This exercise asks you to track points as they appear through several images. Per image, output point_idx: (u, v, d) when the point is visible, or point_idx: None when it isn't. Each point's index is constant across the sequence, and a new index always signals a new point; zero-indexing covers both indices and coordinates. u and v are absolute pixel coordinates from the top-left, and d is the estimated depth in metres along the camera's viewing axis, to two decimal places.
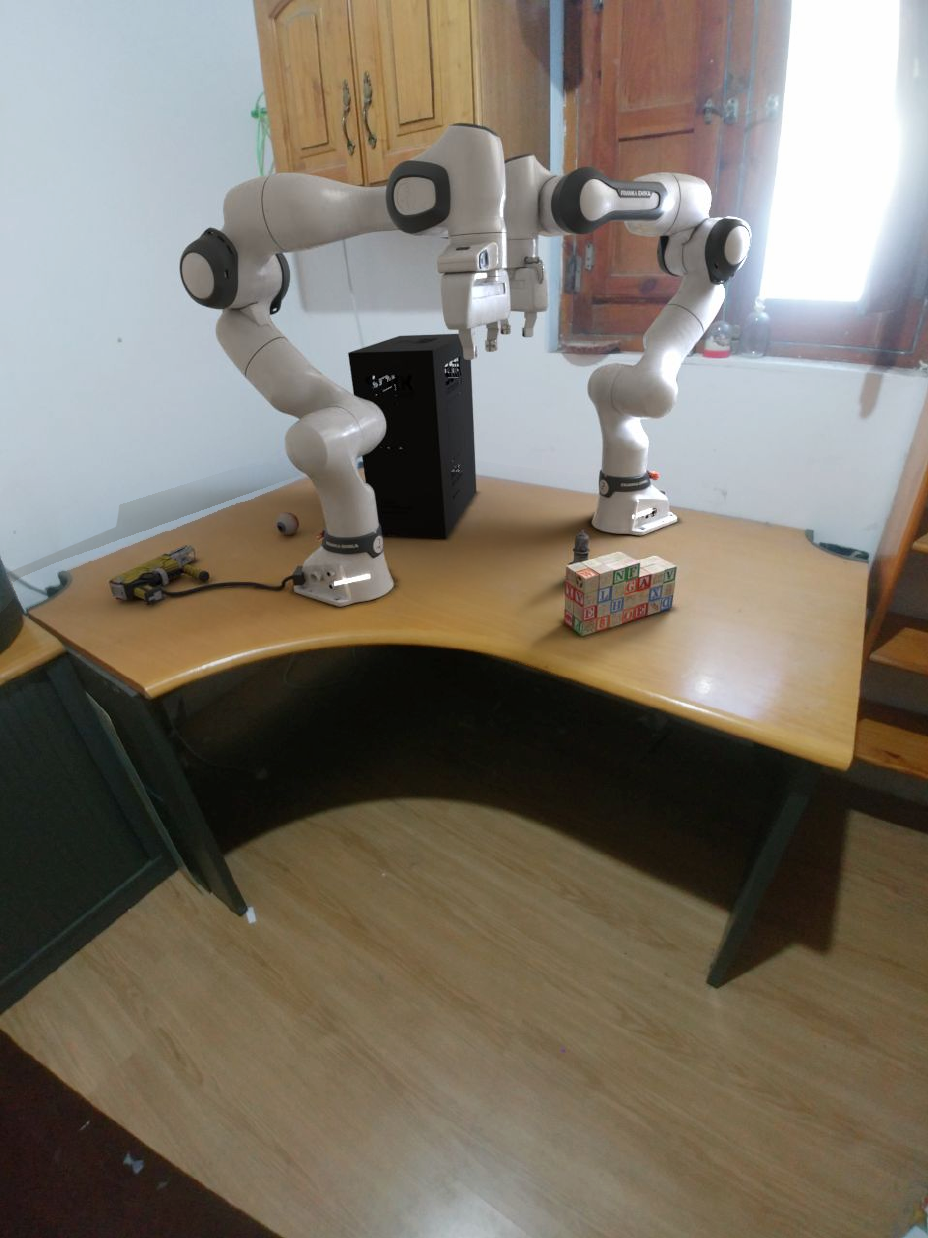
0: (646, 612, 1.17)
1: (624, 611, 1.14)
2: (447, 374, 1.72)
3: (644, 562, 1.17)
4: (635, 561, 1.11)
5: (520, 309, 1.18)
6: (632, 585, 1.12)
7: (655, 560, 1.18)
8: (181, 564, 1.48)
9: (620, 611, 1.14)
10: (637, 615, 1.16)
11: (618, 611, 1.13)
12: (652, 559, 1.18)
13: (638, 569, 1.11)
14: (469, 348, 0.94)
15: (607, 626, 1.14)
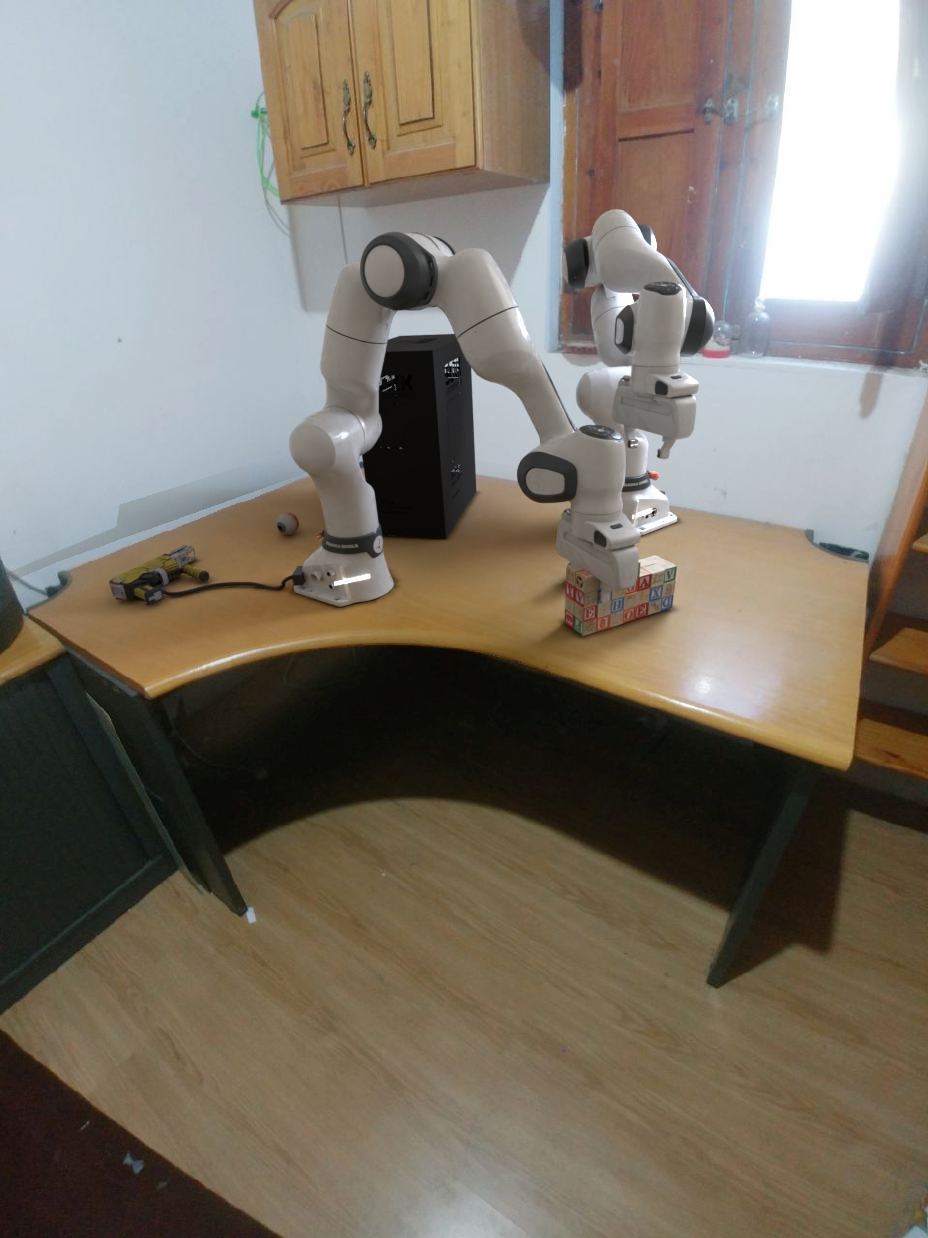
0: (647, 612, 1.17)
1: (624, 611, 1.14)
2: (447, 374, 1.72)
3: (644, 562, 1.17)
4: None
5: None
6: None
7: (655, 560, 1.18)
8: (181, 564, 1.48)
9: (621, 611, 1.14)
10: (638, 615, 1.16)
11: (618, 611, 1.13)
12: (653, 559, 1.18)
13: (638, 569, 1.11)
14: (607, 593, 1.08)
15: (608, 626, 1.14)
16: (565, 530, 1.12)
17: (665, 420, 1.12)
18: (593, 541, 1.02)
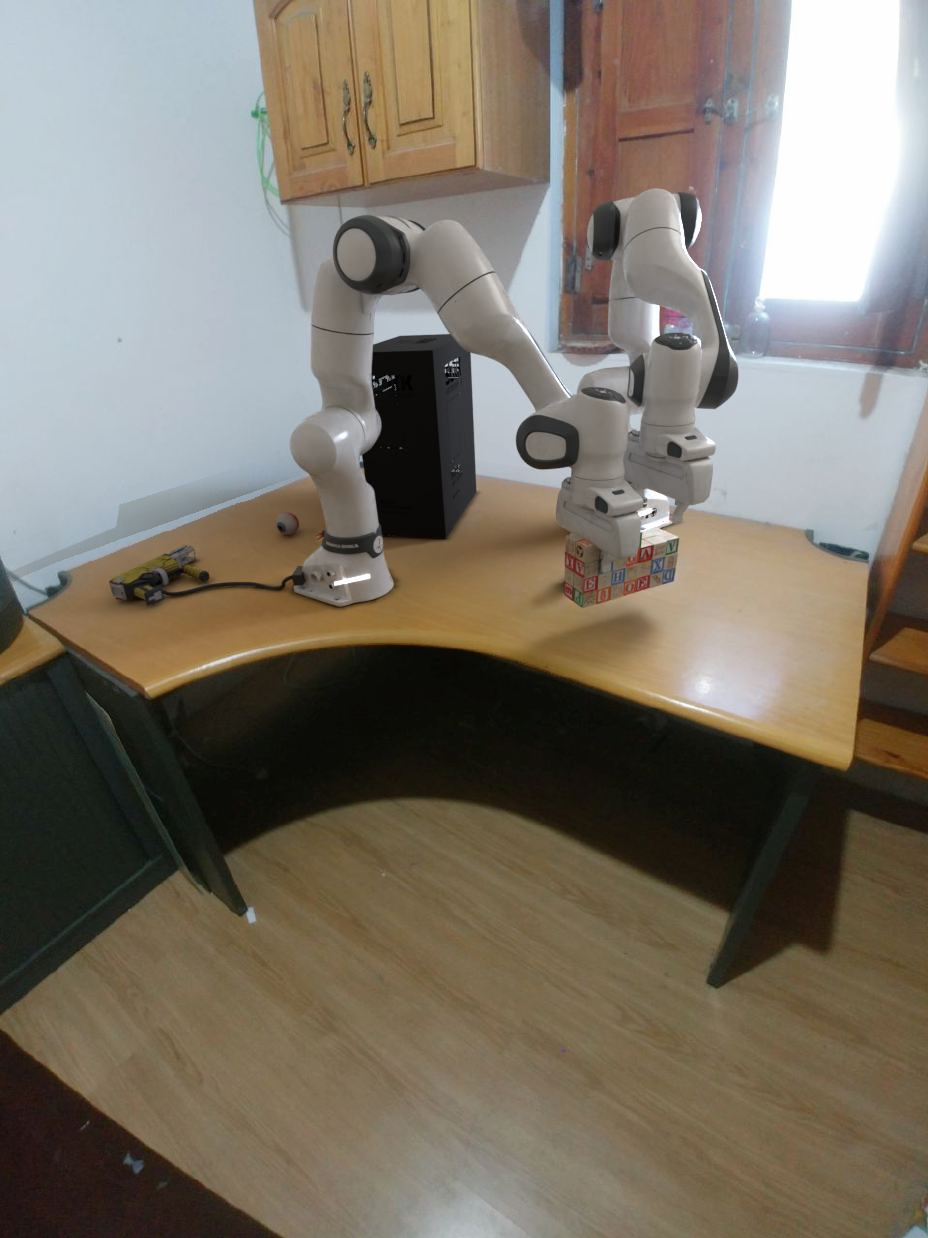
0: (648, 585, 1.14)
1: (625, 583, 1.11)
2: (447, 374, 1.72)
3: (646, 533, 1.14)
4: None
5: None
6: (634, 556, 1.10)
7: (657, 532, 1.15)
8: (181, 564, 1.48)
9: (621, 583, 1.11)
10: (639, 588, 1.14)
11: (619, 583, 1.11)
12: (654, 531, 1.15)
13: (640, 539, 1.08)
14: (608, 563, 1.05)
15: (608, 598, 1.11)
16: (565, 499, 1.09)
17: (678, 483, 1.01)
18: (594, 508, 0.99)
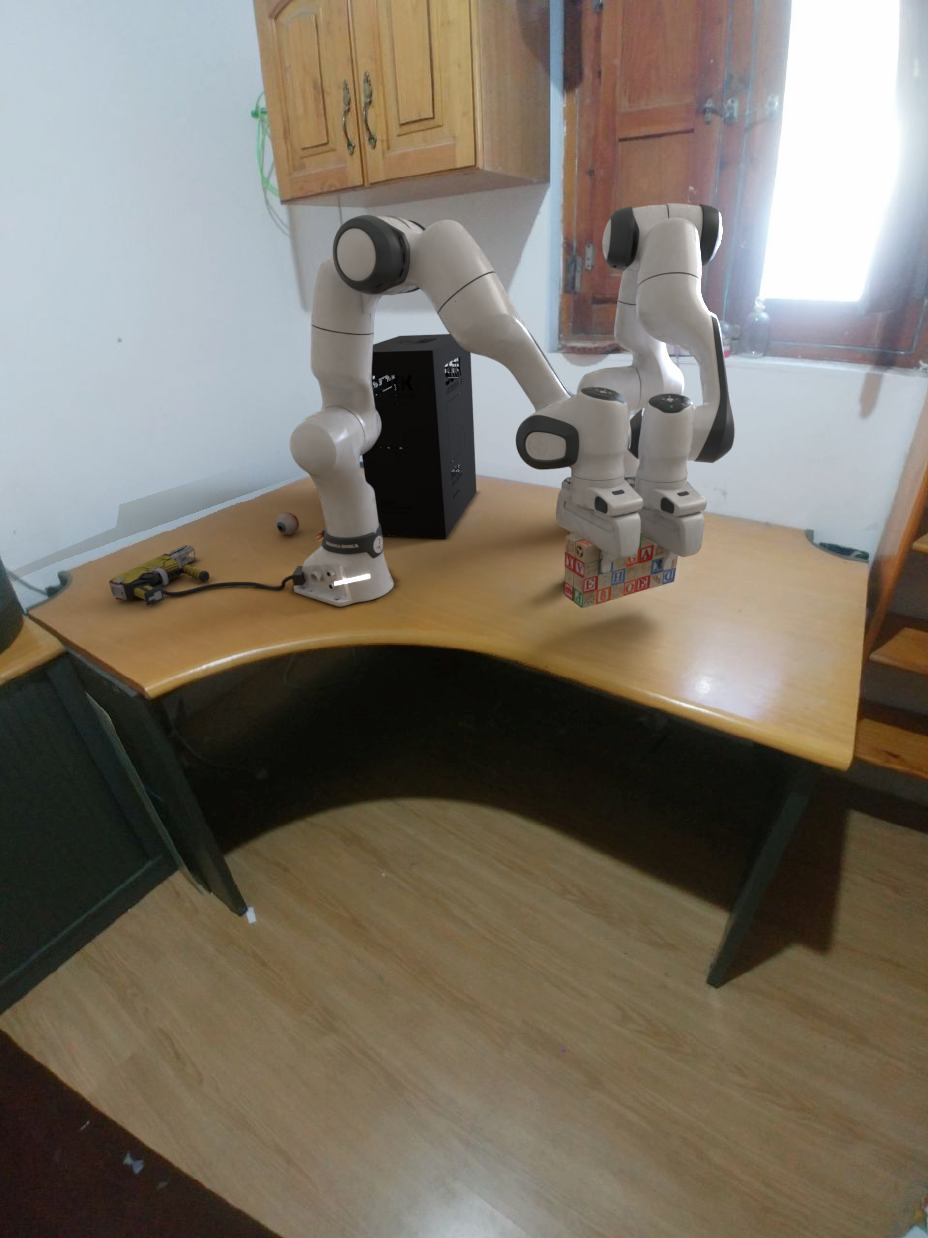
0: (648, 586, 1.14)
1: (625, 584, 1.11)
2: (447, 374, 1.72)
3: None
4: None
5: None
6: (634, 556, 1.09)
7: None
8: (181, 564, 1.48)
9: (621, 583, 1.11)
10: (639, 588, 1.13)
11: (619, 583, 1.11)
12: None
13: (640, 539, 1.08)
14: (608, 564, 1.05)
15: (608, 598, 1.11)
16: (565, 499, 1.09)
17: (671, 536, 1.06)
18: (594, 508, 0.99)
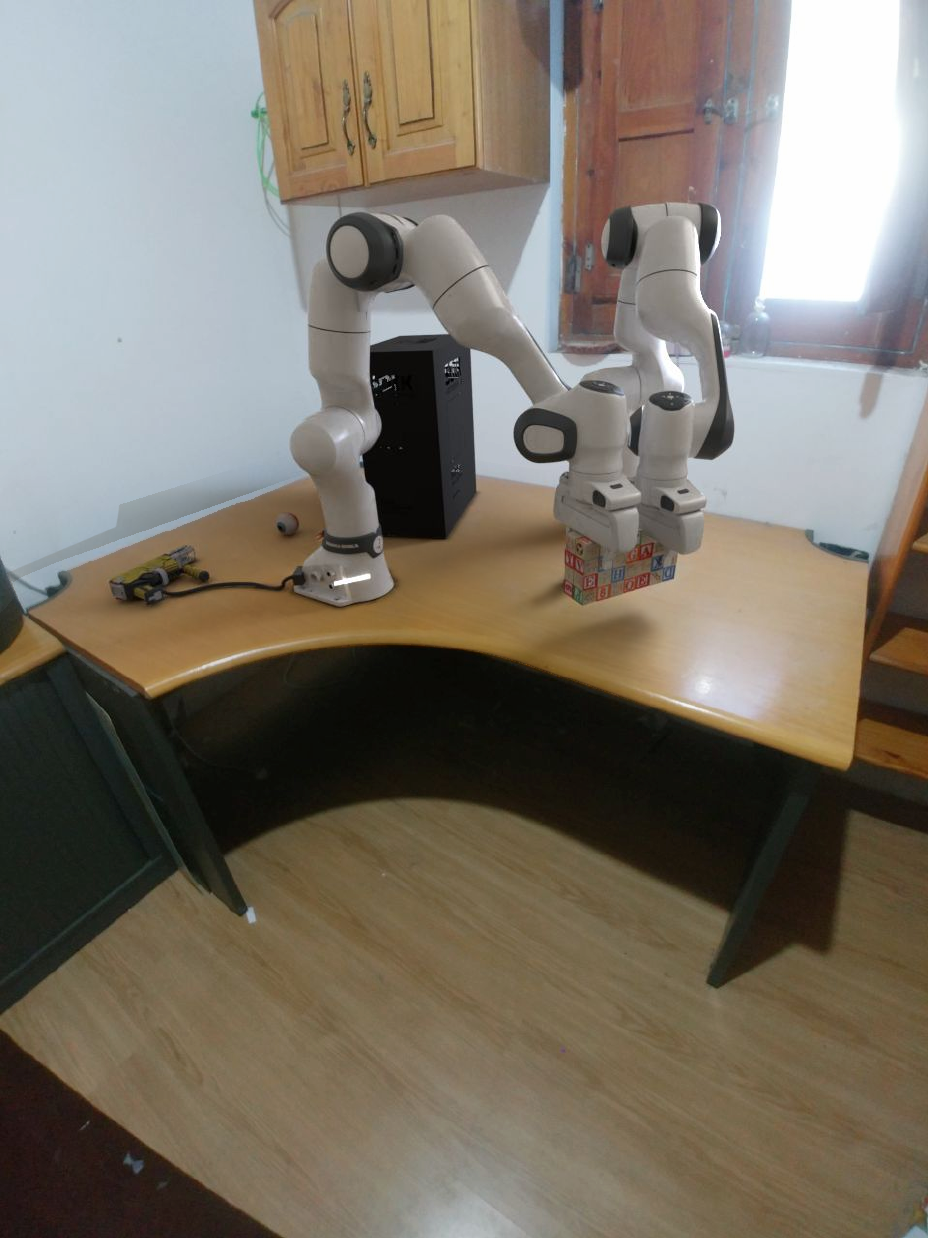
0: (648, 583, 1.14)
1: (625, 581, 1.11)
2: (447, 374, 1.72)
3: None
4: None
5: None
6: (634, 553, 1.09)
7: None
8: (181, 564, 1.48)
9: (621, 580, 1.11)
10: (639, 585, 1.14)
11: (619, 580, 1.11)
12: None
13: (640, 537, 1.08)
14: (609, 560, 1.04)
15: (608, 596, 1.11)
16: (563, 494, 1.08)
17: (671, 533, 1.06)
18: (592, 502, 0.98)
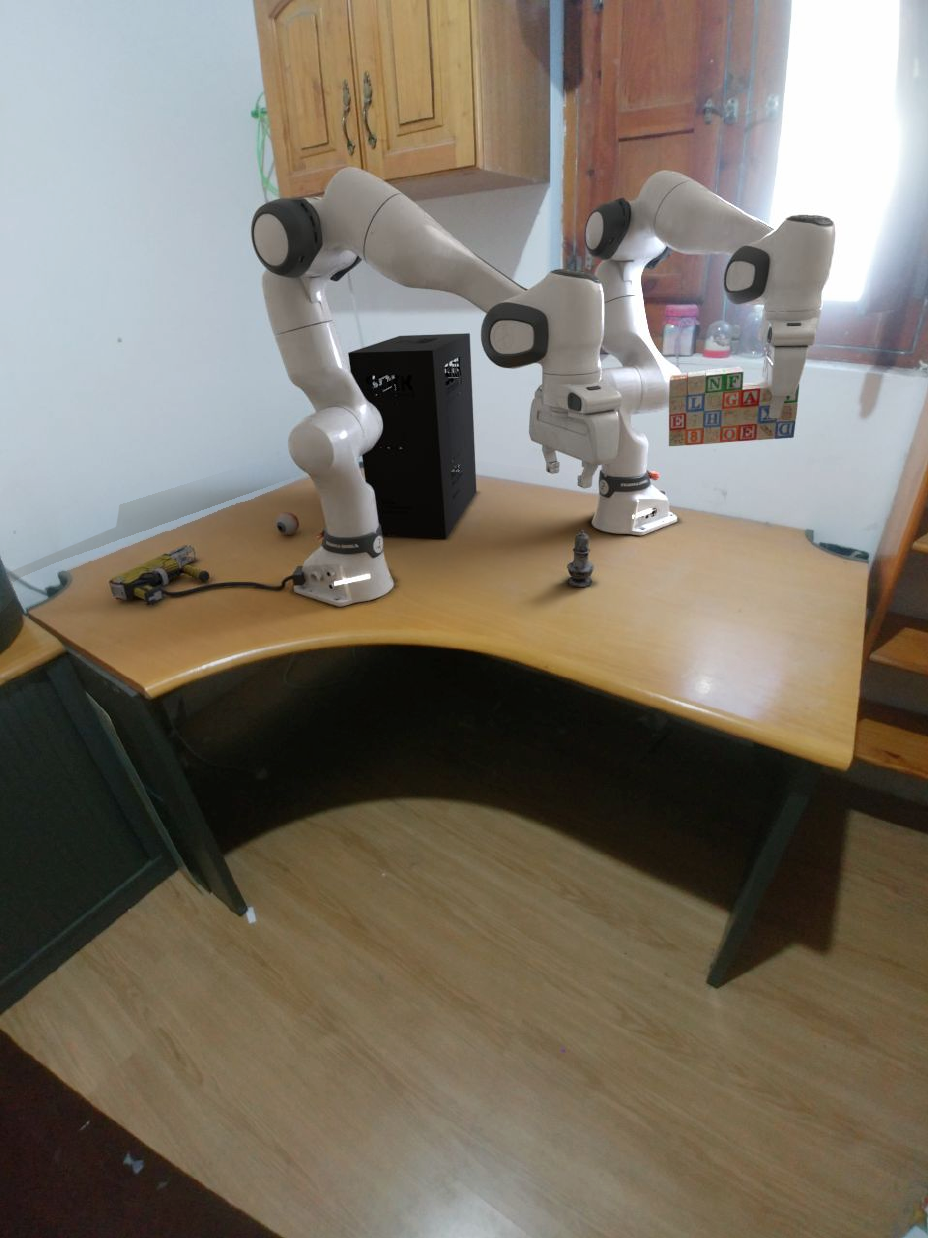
0: (755, 436, 1.09)
1: (723, 428, 1.10)
2: (447, 374, 1.72)
3: None
4: (740, 371, 1.06)
5: None
6: (733, 398, 1.08)
7: None
8: (181, 564, 1.48)
9: (717, 427, 1.10)
10: (742, 437, 1.10)
11: (714, 426, 1.11)
12: None
13: (741, 379, 1.06)
14: (589, 477, 0.94)
15: (700, 441, 1.13)
16: (538, 408, 0.99)
17: None
18: (567, 407, 0.88)
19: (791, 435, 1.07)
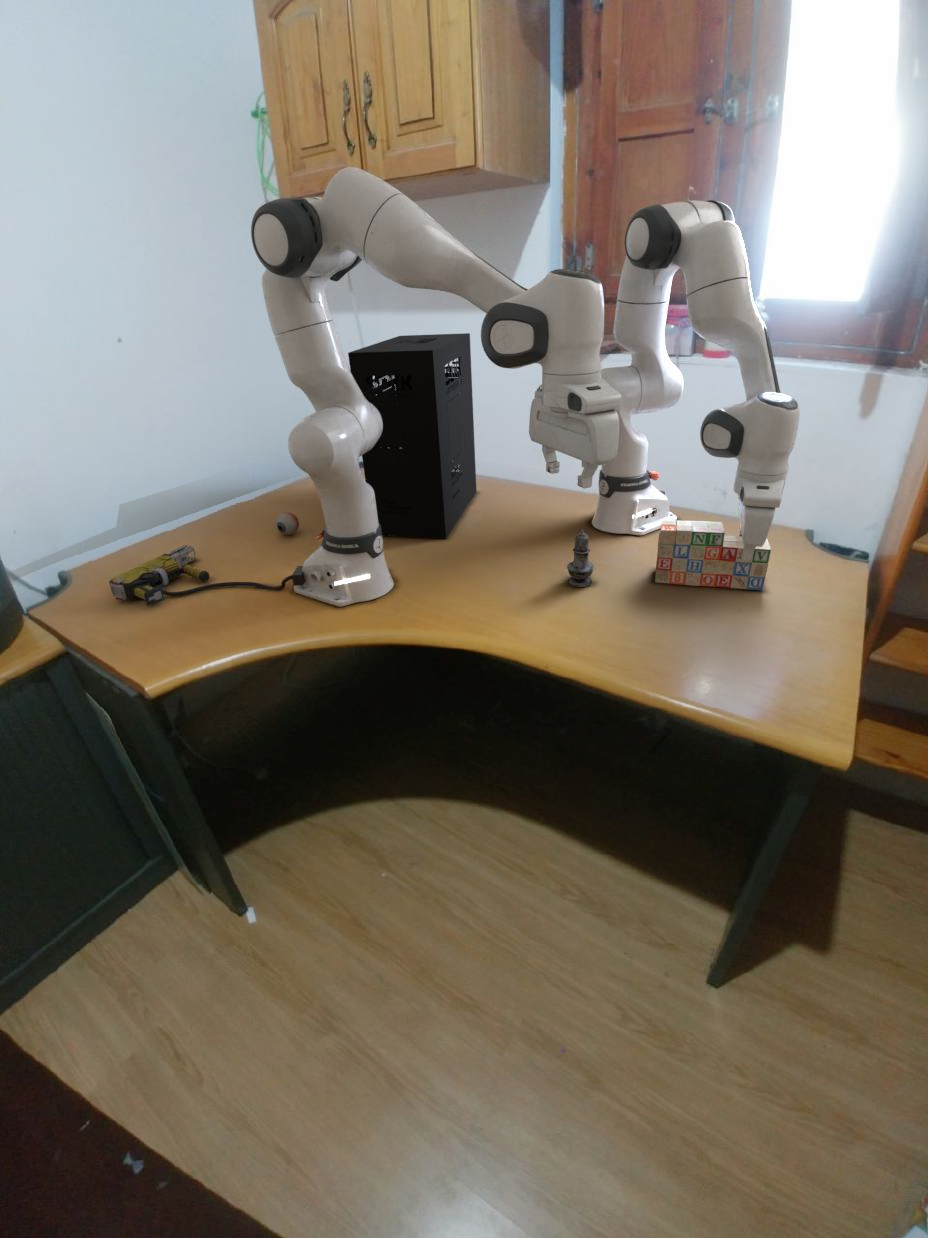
0: (730, 585, 1.25)
1: (703, 575, 1.26)
2: (447, 374, 1.72)
3: None
4: (721, 531, 1.21)
5: None
6: (714, 552, 1.23)
7: None
8: (181, 564, 1.48)
9: (698, 573, 1.26)
10: (719, 584, 1.26)
11: (696, 572, 1.26)
12: None
13: (722, 539, 1.21)
14: (589, 477, 0.94)
15: (683, 582, 1.28)
16: (538, 408, 0.99)
17: None
18: (567, 407, 0.88)
19: (760, 588, 1.24)
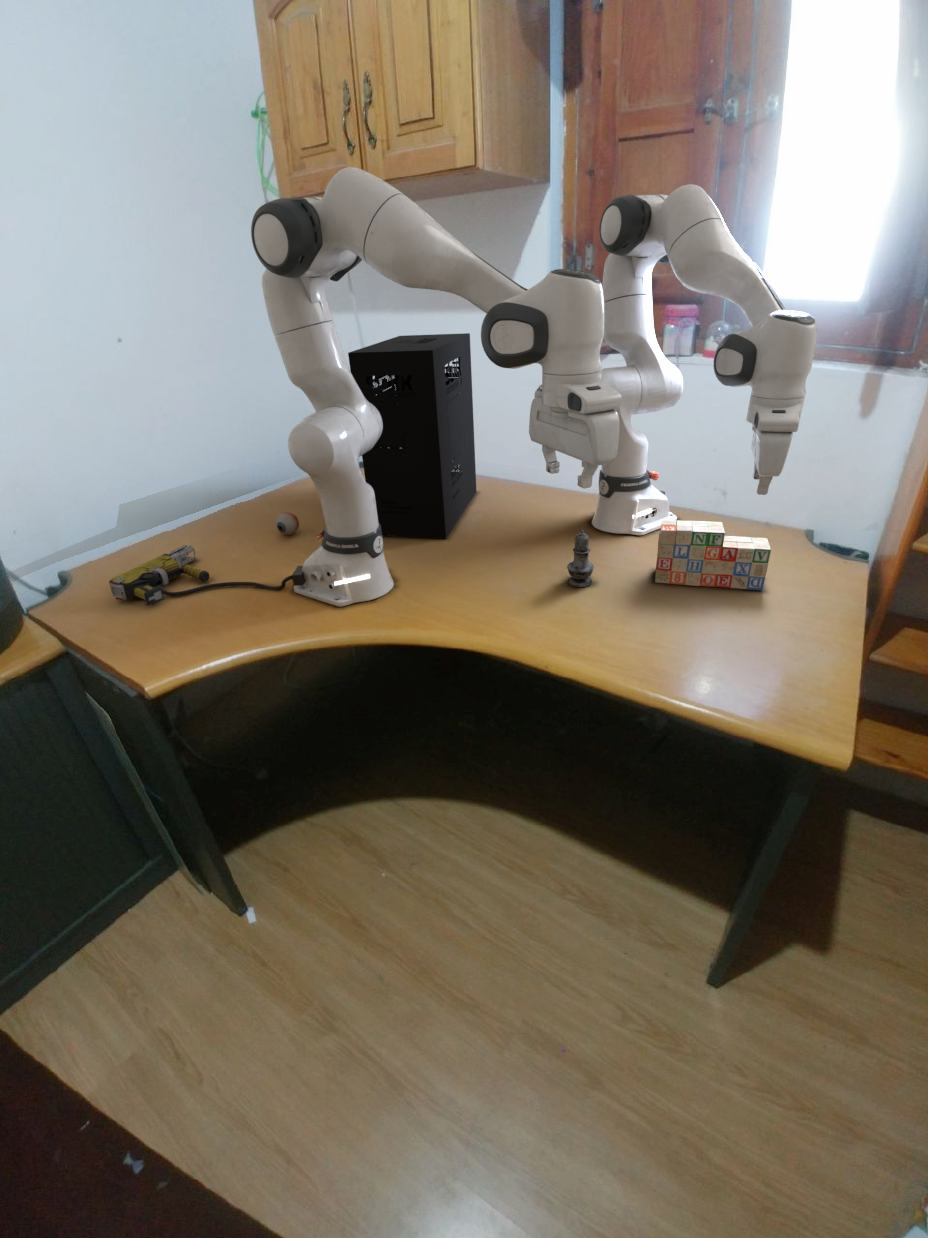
0: (730, 585, 1.25)
1: (703, 575, 1.26)
2: (447, 374, 1.72)
3: (746, 539, 1.24)
4: (721, 531, 1.21)
5: None
6: (714, 552, 1.23)
7: (759, 541, 1.23)
8: (181, 564, 1.48)
9: (698, 573, 1.26)
10: (719, 584, 1.26)
11: (696, 572, 1.26)
12: (758, 539, 1.24)
13: (722, 539, 1.21)
14: (589, 477, 0.94)
15: (683, 582, 1.28)
16: (538, 408, 0.99)
17: None
18: (567, 407, 0.88)
19: (760, 588, 1.24)
